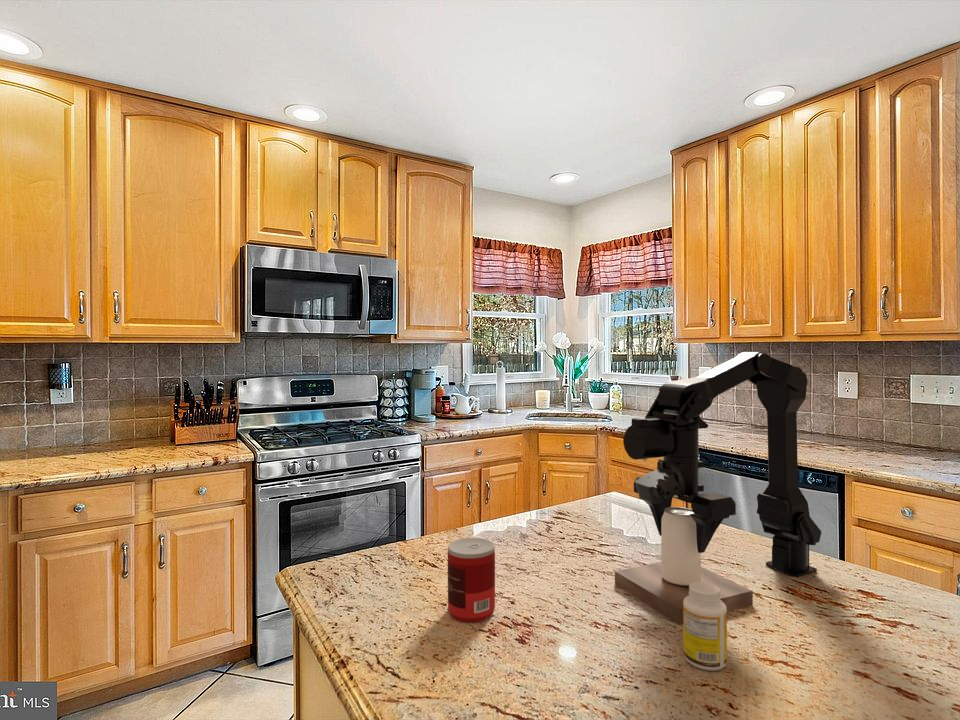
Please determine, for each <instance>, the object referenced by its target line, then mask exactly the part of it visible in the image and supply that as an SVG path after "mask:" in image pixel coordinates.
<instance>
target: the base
mask: <svg viewBox="0 0 960 720" xmlns="http://www.w3.org/2000/svg"><path fill="white" fill-rule="evenodd" d="M700 582H707V583H711V584H714V585H716V586H717V587H718V588H719V589H720V596H721V599H720V600H721V601H722V602H723V603H724V604H725V605H726V608H727V613H729V612H733V611H737V610H740V609H745V608H748V607H752V606H753V604H754V603H753V600H754V599H753V598H754V595H753V594H754V592H753V590H752V589H750V588H748V587H745V586H743V585H741V584H739V583H737V582H735V581H733V580H730V579H728V578H727V577H724V576H722V575H721V574H719V573H716V572H713V571H711V570H709V569H707V568H705V567H703V566H701V581H700ZM614 586H617V587H618V588H620V589H621V590H622V591H624V592H626V593H627V594H629V595H631V596H632V597H634V598H635V599H637V600H638V601H640V602H642V603H643V604H645V605H647V606H648V607H650V608H652V609H653V610H655V612H658V613H660V614H661V615H662V616H664V617H666V618H667V619H669V620H671V621H672V622H674V623H675V624H677V625H679V626H680V625H683V601H684V599H685V597H687V596H688V595H689V586H679V585H674V584H671V583H669V582H667V581H665V580H664V579H663V577H662V574H661V561H659V562H654V563H649V564H645V565H644V564H643V565H639V566H633V567H630V568H625V569H624V568H623V569H618V570H615V571H614Z"/></svg>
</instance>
